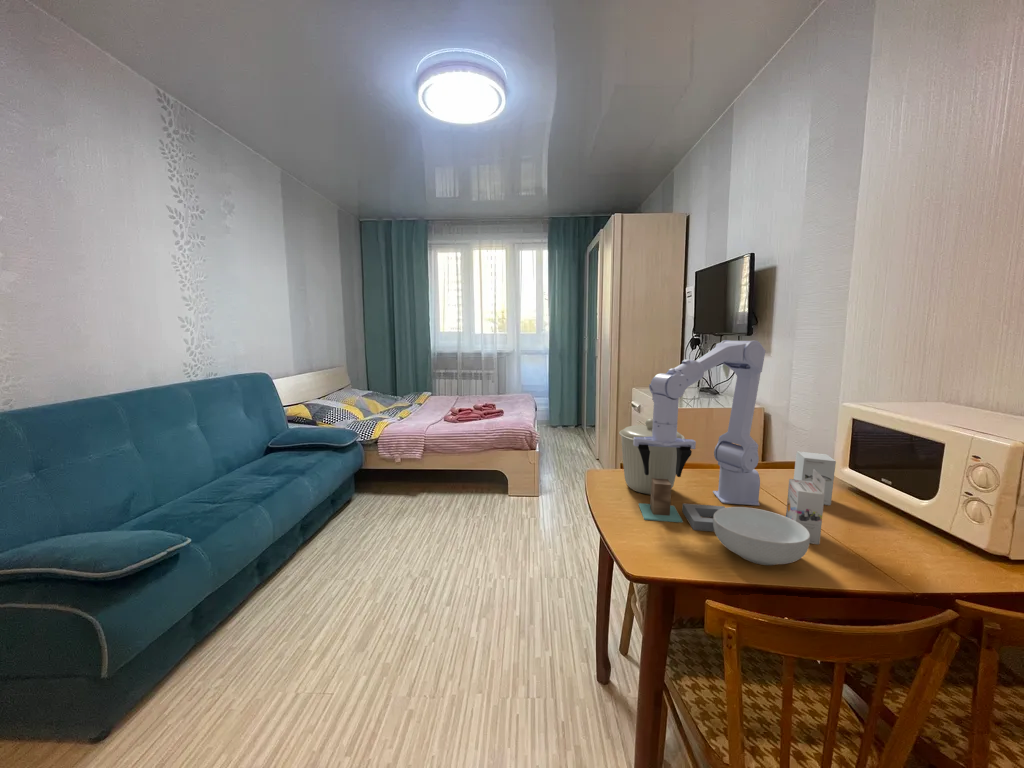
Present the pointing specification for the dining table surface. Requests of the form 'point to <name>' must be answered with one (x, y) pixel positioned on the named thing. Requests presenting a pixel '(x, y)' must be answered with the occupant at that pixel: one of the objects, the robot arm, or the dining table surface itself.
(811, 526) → the ink box
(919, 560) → the dining table surface
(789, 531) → the cereal bowl
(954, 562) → the dining table surface
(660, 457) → the canister
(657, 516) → the mat
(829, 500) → the supplement box
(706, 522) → the pocket plate
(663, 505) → the walnut block
